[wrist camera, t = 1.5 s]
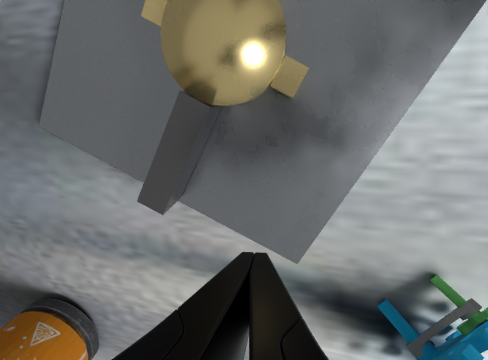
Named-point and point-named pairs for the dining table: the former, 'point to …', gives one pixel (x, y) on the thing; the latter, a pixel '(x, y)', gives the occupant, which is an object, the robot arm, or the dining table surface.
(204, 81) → the gold lugged knob
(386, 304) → the blue branched piece
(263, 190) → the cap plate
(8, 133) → the dining table surface
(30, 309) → the canister
